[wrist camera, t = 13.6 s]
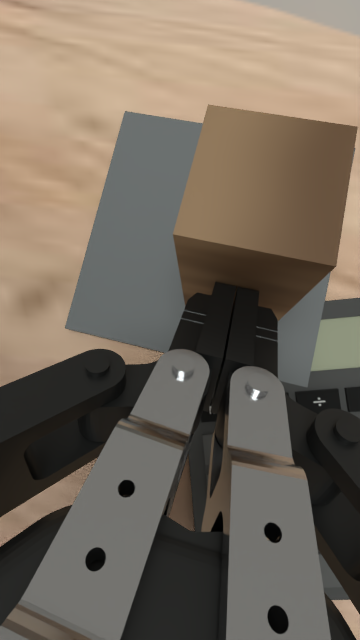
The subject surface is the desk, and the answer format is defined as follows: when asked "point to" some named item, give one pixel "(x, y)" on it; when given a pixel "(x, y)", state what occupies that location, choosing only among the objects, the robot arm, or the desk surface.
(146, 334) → the mat
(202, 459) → the calculator
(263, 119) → the block
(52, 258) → the desk surface
